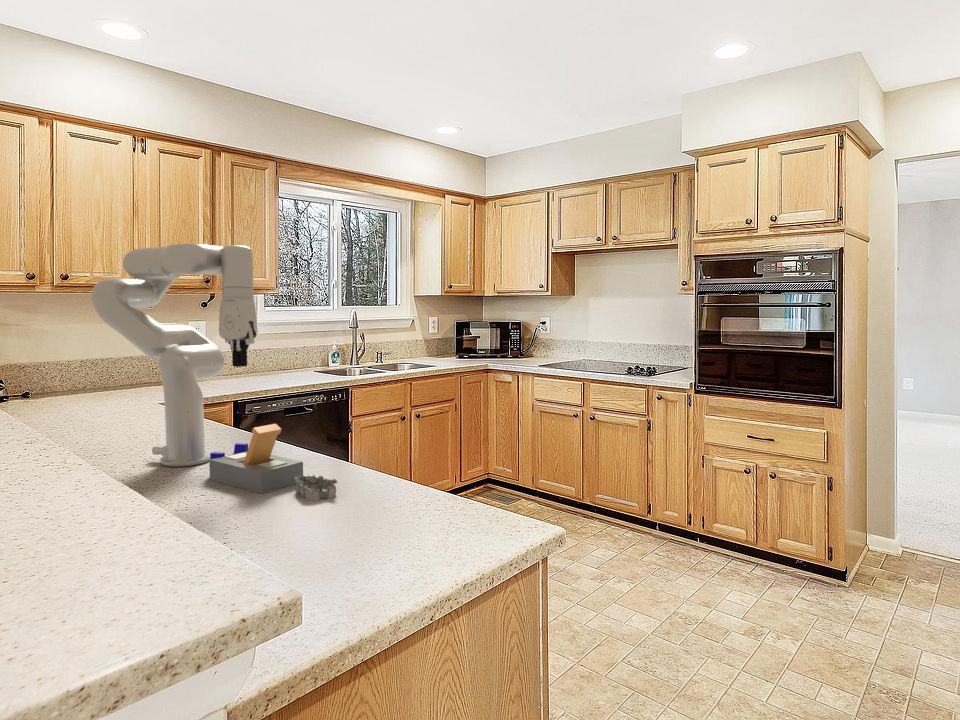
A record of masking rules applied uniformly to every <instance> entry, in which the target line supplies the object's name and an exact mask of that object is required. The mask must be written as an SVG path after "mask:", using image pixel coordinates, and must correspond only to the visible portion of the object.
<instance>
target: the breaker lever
mask: <svg viewBox="0 0 960 720" xmlns="http://www.w3.org/2000/svg"><path fill="white" fill-rule="evenodd" d="M251 430H252V431H251V434H252V436H251V439H250V443H249V444H248V451H247V454H246V457H245V460H244V464H248V465H255V464H260V463H264V462H268V461H269V458H270V456H271V455H272V452H273V450H274V446H275V444H276V441H277V437H278V435H280V434H281V432H282V428H281V427H280V426H279V425H278V424H277V423H271V424H266V425H261V426H255V427H252V429H251Z"/></svg>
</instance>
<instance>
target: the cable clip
mask: <svg viewBox="0 0 960 720" xmlns="http://www.w3.org/2000/svg"><path fill="white" fill-rule="evenodd" d="M248 448H249V443H247V442H246V443H243V442H237V443H235V444H234V449H233V453H231V454H229V455H233V454H238V453H242V452H247V451H248ZM209 454H210V459H215V458H219V457H224V456H226V453H225V452H222V451H220V452H219V451H214V452H210V453H209ZM229 455H227V456H229Z"/></svg>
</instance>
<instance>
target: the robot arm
mask: <svg viewBox="0 0 960 720" xmlns="http://www.w3.org/2000/svg"><path fill="white" fill-rule="evenodd" d="M253 255H254V254H253V250H252V248H251V247H249V246H248V245H247V246H246V245H239V244H236V245H235V244H234V245H233V244H232V245H231V244H229V245H224V246H220V245H211V244H201V243H180V244H179V243H178V244H169V245H167V246H156V247H143V248H142V247H141V248H136V249H135V248H134V249H132V250H130V251H128V252H127V253H126V254H125V255H124V257H123V259H122V267H123V269H124V271H125V272H126V273H127V274H128V275H129V276H131V277H133V278H127V277H110V278H105V279H102V280H100V281H98V282H97V283H95V285H94V286H93V288H92V290H91V299H92V300H91V301H92V304H93V307H94V309H95V312H96V314H97V315H98V317H99V318H100V319H101V320H102V321H103V322H104V323H105V324H106V325H107V326H109V327H110V328H111V329H113V330H114V331H115V332H117V333H118V334H120V335H122V336H123V337H124V338H125V339H126V340H127V341H129V343H131V344H132V345H133V346H134V347H136V348H137V349H138V350H139V351H140V352H142V353H143V354H144V355H145V356H147V357H148V358H150V359H153V360H154V359H155V360H158V370H159V373H160V378H161V382H162V387H163V397H164V398H163V401H164V402H163V403H164V421H165V427H164V428H165V445H164V446H153V447H152V448H151V452H152V455H156V456H158V455H161V456H162V457H161V458H160V460H159V461H160V462H159V463H160V465H162V466H165V467H176V468H177V467H193V466H196V465H197V466H198V465H202V464H205V463H209V460H210V453H208V452H206V446H205V445H206V444H205V415H204V396H203V391H202V389H201V388H200V386H199V384H198V383H197V380H200V379H201V380H202V379H209V378H213V377H216V376H218V375H219V374H220V373H221V372H222V371H223V370H224V368H225V357H224V355H223V352H222V350H221V349H220V348H219V347H218V346H217V345H216V344H215V343H213V341H211V340H209V339H208V338H207V337H206V336H205V335H203V334H202V333H200V332H199V331H198V330H196V329H195V328H194V327H191V325H190V326H189V325H186V324H182V323H181V324H180V323H179V324H176V323H174V324H165V323H159V322H158V321H156V320H155V319H153V318H152V316H150V315H148V314H147V313H146V312H144V311H141V310H139V309H149V308H152V307H155V306H156V305H158V304H159V302H160V301H161V300H162V299H163V297H164V296H165V295H166V293H167V292H168V290H169V289H170V288H171V286H172V285H173V284H174V282H175V281H176V279H179V278H181V277H182V276H183V275H209V276H210V275H212V276H221V295H222V299H221V302H220V307H219V317H218V335H219V338H221V339H223V340H224V342H225V343H226V344H229V346H230V351H231V352H232V354H231V358H232V359H231V360H232V367H234V368H235V367H236V368H239V367H240V368H241V367H248V351H249V346H250V345H253V344H255V338H257V334H258V321H257V310H256V305H255V300H254V298H255V295H254V293H255V291H254V290H255V289H254V258H253V257H254V256H253Z"/></svg>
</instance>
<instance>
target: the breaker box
mask: <svg viewBox="0 0 960 720" xmlns="http://www.w3.org/2000/svg"><path fill="white" fill-rule="evenodd" d="M232 454H233V453H232ZM246 454H247V452H242V453H238V454H233V455H231V454H229V456H228V455H225V456H224V457H219V458H215V459H210V460H209V461H208V463H209V464H208V465H209V480H210V481H213V482H218V483H221V484H224V485H227V486H231V487H235V488H239V489H243V490H246V491H250V492H253V493H256V494H260V495H263V494H265V493H266V494H267V493H270V492H272V491H276V490H280V489H283V488H287V487H291V486H293V485H296V480H295V476H297V477H303V476H304V461H302V460H297V459H292V458H287V457H284V456H278V455H273V454H271V456H270V458H269V461H268V462H264V463H260V464H255V465H248V464H244V460H245V457H246Z"/></svg>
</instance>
